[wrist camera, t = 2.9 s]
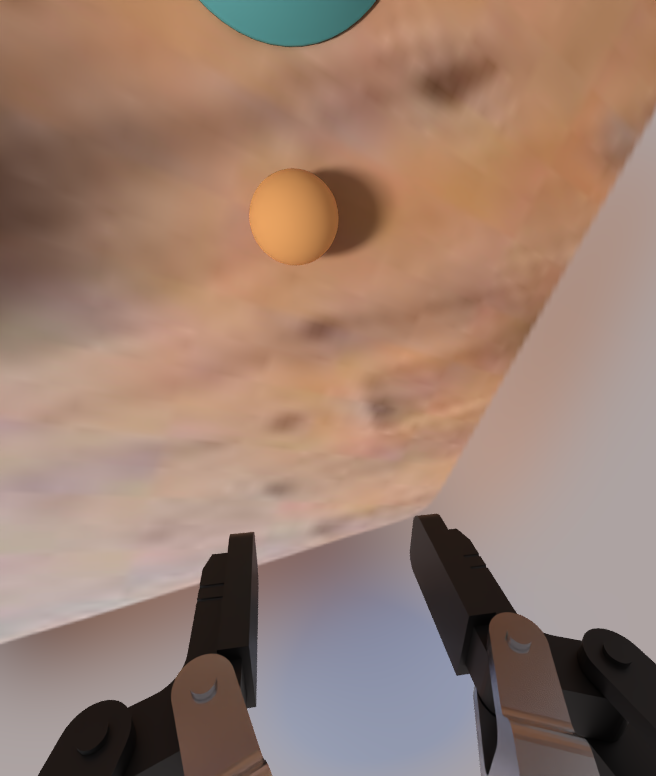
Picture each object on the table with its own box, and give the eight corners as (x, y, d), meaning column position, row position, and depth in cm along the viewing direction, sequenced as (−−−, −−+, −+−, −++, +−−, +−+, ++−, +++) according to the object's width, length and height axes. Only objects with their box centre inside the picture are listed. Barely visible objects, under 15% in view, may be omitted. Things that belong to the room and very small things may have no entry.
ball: (253, 261, 25) (251, 271, 21) (247, 172, 23) (243, 161, 19) (331, 260, 26) (345, 269, 21) (331, 173, 24) (347, 164, 19)
